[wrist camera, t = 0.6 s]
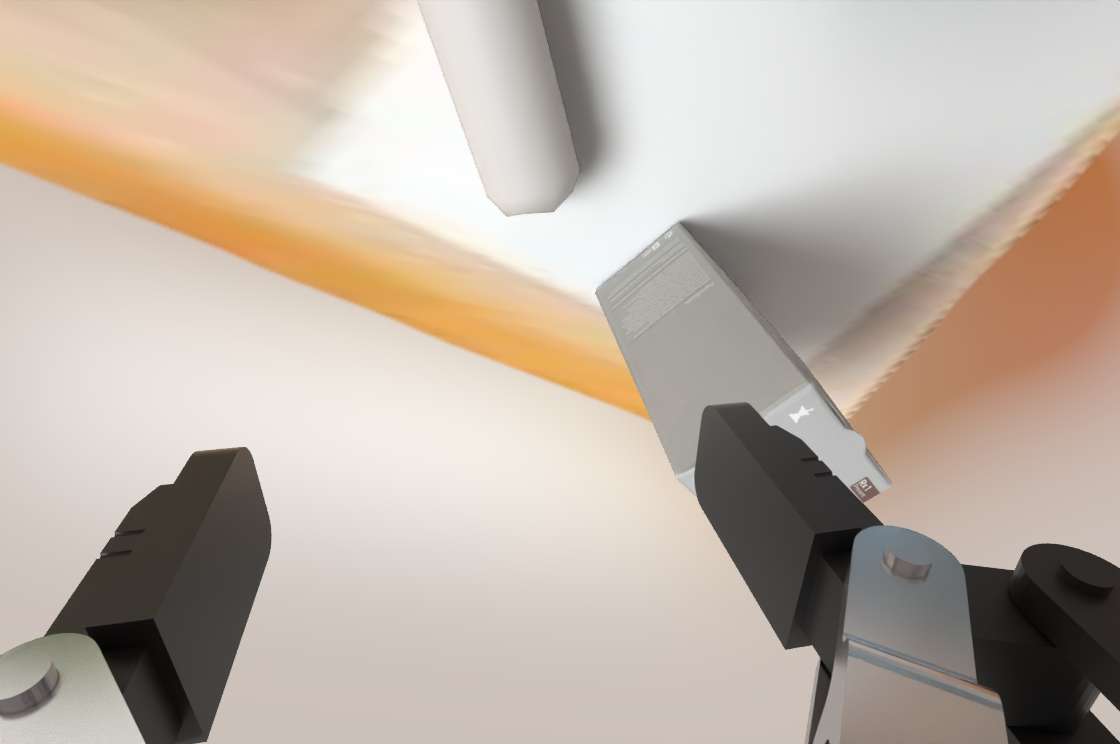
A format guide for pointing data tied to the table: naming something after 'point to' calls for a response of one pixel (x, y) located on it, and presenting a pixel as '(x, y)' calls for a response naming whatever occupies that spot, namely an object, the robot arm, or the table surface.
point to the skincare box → (719, 361)
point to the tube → (506, 99)
